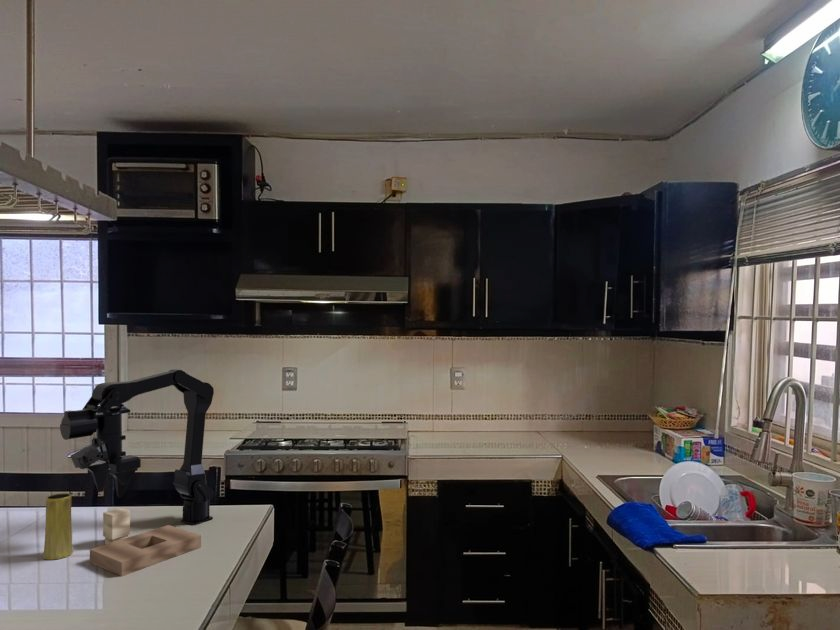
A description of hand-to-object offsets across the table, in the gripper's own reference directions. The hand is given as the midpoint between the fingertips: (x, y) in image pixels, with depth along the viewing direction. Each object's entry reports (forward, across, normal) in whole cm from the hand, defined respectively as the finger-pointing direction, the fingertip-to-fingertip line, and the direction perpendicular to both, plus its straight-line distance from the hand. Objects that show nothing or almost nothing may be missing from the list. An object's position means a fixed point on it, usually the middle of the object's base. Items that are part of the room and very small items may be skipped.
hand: (110, 494), depth 143 cm
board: (+13, +13, +2) cm, 19 cm away
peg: (+13, -1, +2) cm, 13 cm away
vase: (+13, -5, -10) cm, 17 cm away
